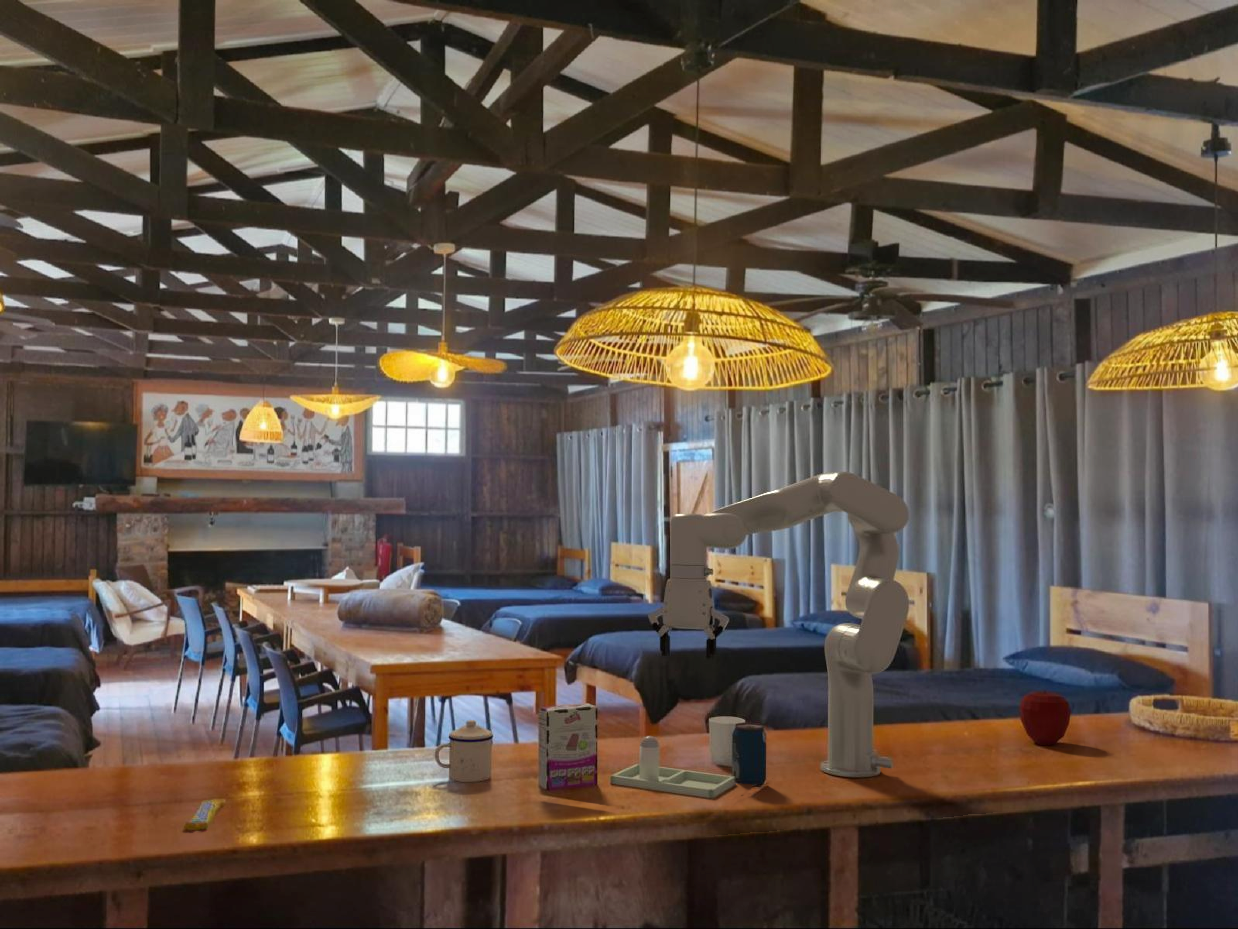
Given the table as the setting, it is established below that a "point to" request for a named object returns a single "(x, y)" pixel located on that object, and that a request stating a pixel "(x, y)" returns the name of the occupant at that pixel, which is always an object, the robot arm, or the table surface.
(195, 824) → the candy bar
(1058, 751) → the table surface
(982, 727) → the table surface
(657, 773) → the shaker
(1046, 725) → the apple
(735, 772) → the soda can
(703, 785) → the caddy
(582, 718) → the candy bar box
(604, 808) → the table surface
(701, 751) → the table surface
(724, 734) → the white cup
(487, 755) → the teacup with lid
